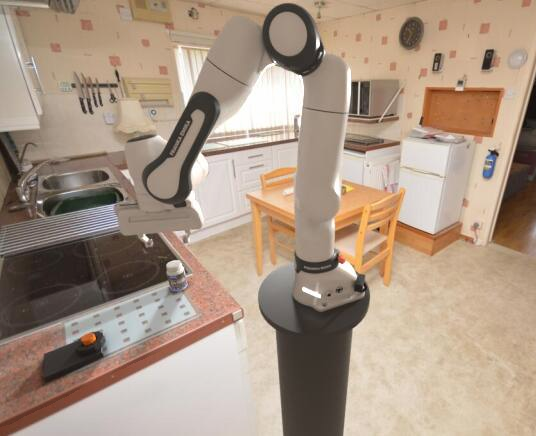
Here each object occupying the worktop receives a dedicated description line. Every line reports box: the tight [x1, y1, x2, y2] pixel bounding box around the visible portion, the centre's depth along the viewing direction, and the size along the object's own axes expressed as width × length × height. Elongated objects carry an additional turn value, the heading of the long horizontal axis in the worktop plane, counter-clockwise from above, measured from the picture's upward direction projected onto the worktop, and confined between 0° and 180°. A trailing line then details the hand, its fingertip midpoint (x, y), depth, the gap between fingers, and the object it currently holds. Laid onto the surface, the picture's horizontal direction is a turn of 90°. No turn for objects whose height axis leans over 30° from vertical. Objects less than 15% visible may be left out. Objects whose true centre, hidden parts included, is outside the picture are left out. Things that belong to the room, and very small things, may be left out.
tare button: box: [80, 332, 96, 346], centre depth 66 cm, size 2×2×2 cm
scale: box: [42, 330, 107, 383], centre depth 65 cm, size 11×8×3 cm
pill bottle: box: [165, 259, 188, 292], centre depth 86 cm, size 5×5×8 cm
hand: (168, 244), depth 82 cm, fingers open, 8 cm apart
